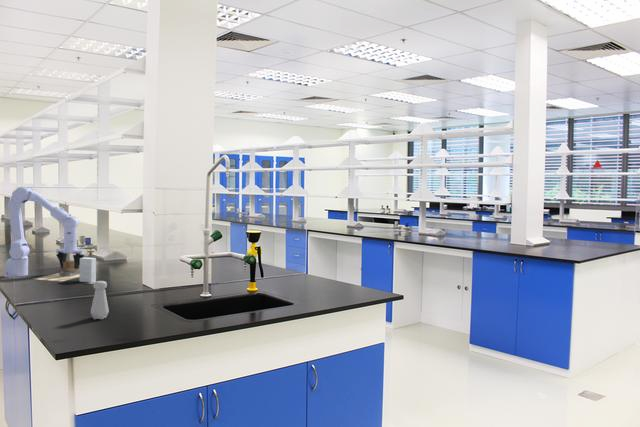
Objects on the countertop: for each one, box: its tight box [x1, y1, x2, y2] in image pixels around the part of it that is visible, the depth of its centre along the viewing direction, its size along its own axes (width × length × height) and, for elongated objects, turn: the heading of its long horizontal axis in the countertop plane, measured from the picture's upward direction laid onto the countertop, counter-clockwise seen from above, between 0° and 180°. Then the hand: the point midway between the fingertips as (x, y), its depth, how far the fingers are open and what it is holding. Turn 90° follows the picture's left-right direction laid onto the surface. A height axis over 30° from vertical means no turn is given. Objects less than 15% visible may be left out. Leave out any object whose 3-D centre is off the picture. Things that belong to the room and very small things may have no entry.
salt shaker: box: [90, 280, 110, 320], centre depth 174 cm, size 6×6×13 cm
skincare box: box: [78, 256, 97, 285], centre depth 236 cm, size 6×4×12 cm
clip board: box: [33, 269, 80, 282], centre depth 245 cm, size 16×22×3 cm
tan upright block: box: [62, 260, 75, 272], centre depth 249 cm, size 3×4×7 cm, turn 169°
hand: (69, 268), depth 250 cm, fingers open, 7 cm apart
